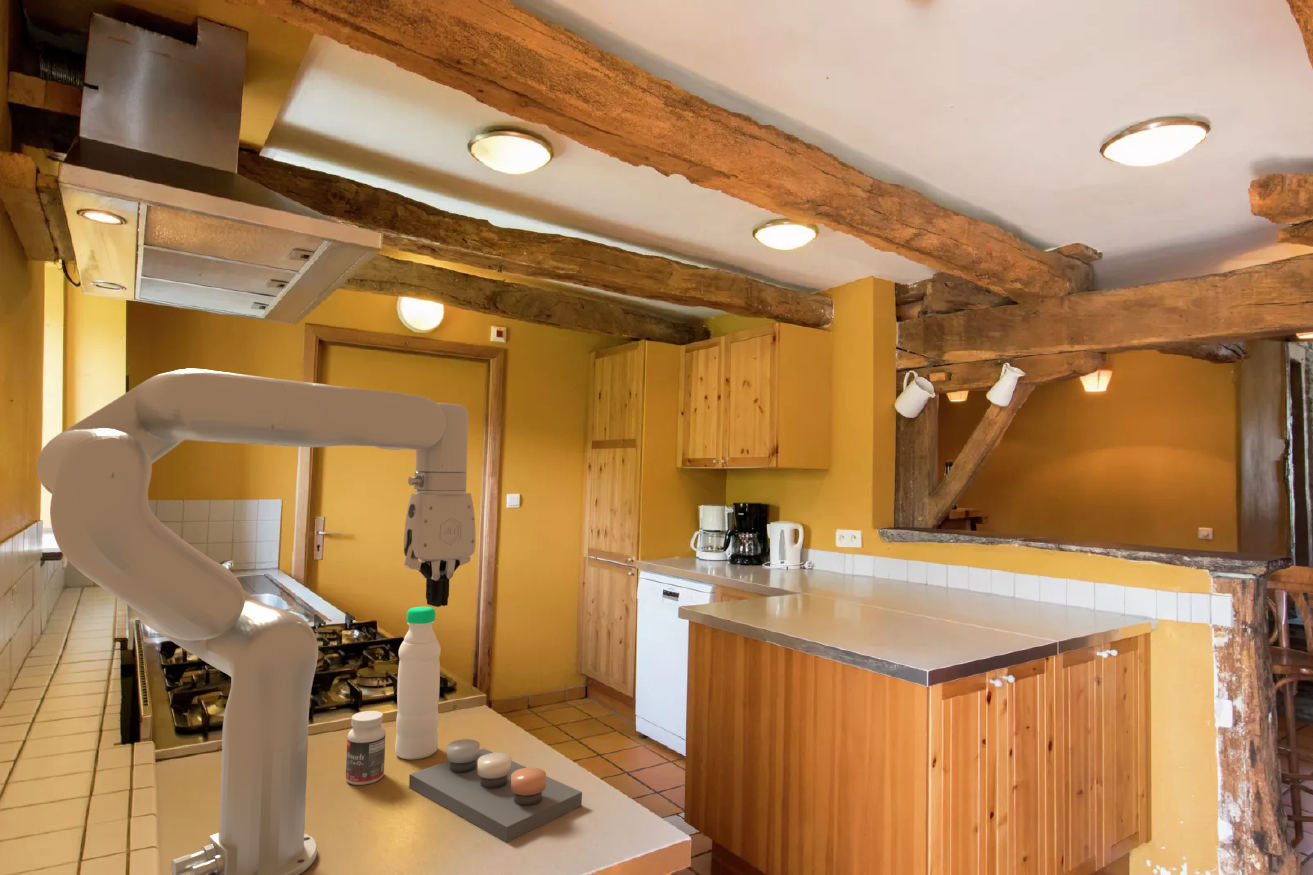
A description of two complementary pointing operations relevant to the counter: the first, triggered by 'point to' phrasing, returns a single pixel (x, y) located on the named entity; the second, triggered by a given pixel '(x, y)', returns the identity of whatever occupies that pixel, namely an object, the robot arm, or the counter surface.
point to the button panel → (493, 798)
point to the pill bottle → (365, 748)
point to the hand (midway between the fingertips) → (437, 604)
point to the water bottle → (418, 687)
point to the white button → (494, 765)
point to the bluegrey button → (463, 751)
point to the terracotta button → (528, 781)
